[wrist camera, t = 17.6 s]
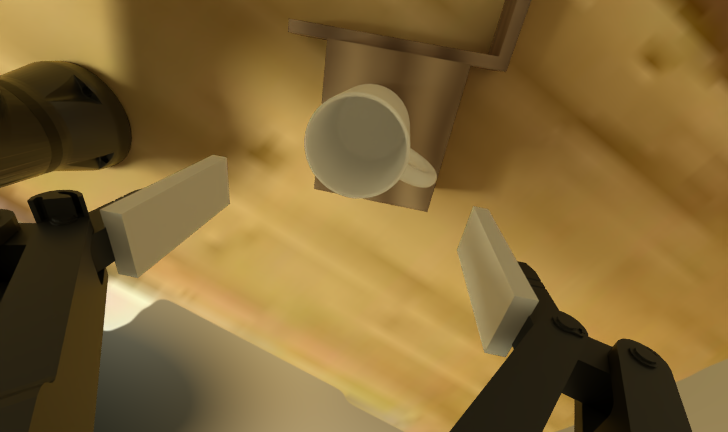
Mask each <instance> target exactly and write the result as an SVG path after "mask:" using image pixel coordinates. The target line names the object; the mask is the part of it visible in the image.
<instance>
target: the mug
mask: <svg viewBox="0 0 728 432" xmlns="http://www.w3.org/2000/svg"><path fill="white" fill-rule="evenodd" d="M304 147H305V154H306V158H307V161H308V163H309V166H310V168H311V170H312V172H313V173H314V175H315V176H316V177H317V179H318V180H319V181H320V182H321V183H322V184H323V185H324V186H326V187H327V188H328V189H330V190H331V191H333V192H335V193H337V194H339V195H342V196H345V197H349V198H361V199H362V198H370V197H374V196H377V195H380V194H382V193H384V192H386V191H387V190H389V189H390V188H391V187H393V186H394V185H395V184H396V183H397V182H398V181H399V180H401V181H403V182H405V183H407V184H410V185H412V186H416V187H422V188H427V187H430V186H432V185H433V184H434V183H435V182H436V179H437V174H436V172H435V169H434V168H433V166H432V165H431V164H430V163H429V162H428V161H427V160H426V159H425V158H423V157H422V156H421V155H420V154H418V153H417V152H415V151H414V150H413V149H411V148H410V121H409V115H408V112H407V109H406V107H405V105H404V103H403V102H402V100H401V99H400V98H399V97H398V96H397V95H396V94H395V93H394V92H393V91H391V90H390V89H388V88H386V87H384V86H381V85H377V84H363V85H359V86H356V87H353V88H351V89H349V90H347V91H344V92H342V93H340V94H338V95H336V96H334V97H332V98H330V99H328V100H327V101H325V102H324V103H322V104H321V105H320V106H319V107H318V108H317V110H316V111H315V112H314V113H313V115H312V117H311V118H310V120H309V123H308V125H307V128H306V132H305V139H304ZM408 163H409V164H408ZM411 165H412V166H411Z"/></svg>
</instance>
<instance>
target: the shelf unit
mask: <svg viewBox="0 0 728 432" xmlns="http://www.w3.org/2000/svg"><path fill="white" fill-rule="evenodd" d="M530 2H531V0H505V3H504V6H503V10H502V13H501V16H500V19H499V22H498V25H497V28H496V32H495V35H494V38H493V41H492V44H491V47H490V51H489V54H482V53H476V52H471V51H465V50H460V49H454V48H449V47H443V46H438V45H432V44H427V43H421V42H416V41H410V40H405V39H399V38H394V37H388V36H382V35H377V34H371V33H366V32H360V31H355V30H349V29H344V28H338V27H333V26H327V25H322V24H316V23H311V22H305V21H299V20H294V19H289V26H288V32H291V33H295V34H299V35H303V36H308V37H314V38H319V39H325V40H327V48H326V59H325V71H324V82H323V93H322V103H324V102H325V101H327V100H328V99H330V98H332V97H334V96H336V95H338V94H340V93H342V92H344V91H347V90H349V89H351V88H353V87H356V86H359V85H363V84H377V85H381V86H384V87H386V88H388V89H390V90H391V91H393V92H394V93H395V94H396V95H397V96H398V97H399V98H400V99H401V100H402V102H403V103H404V105H405V107H406V109H407V112H408V115H409V121H410V148H411V149H413V150H414V151H415V152H417V153H418V154H420V155H421V156H422V157H423V158H425V159H426V160H427V161H428V162H429V163H430V164H431V165H432V166H433V168H434V169H435V172H436V174H437V178H438V174H439V171H440V168H441V164H442V161H443V157H444V154H445V151H446V147H447V144H448V141H449V137H450V134H451V131H452V127H453V124H454V120H455V117H456V114H457V110H458V107H459V104H460V100H461V97H462V94H463V90H464V87H465V83H466V80H467V77H468V73H469V70H470V67H471V66H472V67H478V68H483V69H489V70H494V71H504V72H506V71H507V68H508V65H509V62H510V59H511V56H512V54H513V51H514V48H515V45H516V42H517V39H518V37H519V34H520V31H521V28H522V25H523V22H524V19H525V17H526V14H527V11H528V8H529V5H530ZM408 164H409V163H408ZM411 166H412V165H411ZM436 181H437V179H436ZM435 184H436V182H435V183H434V184H433V185H432V186H430V187H427V188H422V187H416V186H412V185H410V184H407V183H405V182H403V181H401V180H399V181H398V182H397V183H396V184H395V185H394V186H393V187H391V188H390V189H389V190H387V191H386V192H384V193H382V194H380V195H377V196H374V197H370V198H362V199H366V200H371V201H376V202H381V203H386V204H391V205H396V206H401V207H406V208H410V209H415V210H420V211H425V212H427V211H428V208H429V205H430V201H431V198H432V195H433V191H434V188H435ZM314 189H317V190H322V191H327V192H332V193H335V192H333V191H331V190H330V189H328V188H327V187H326V186H324V185H323V184H322V183H321V182H320V181H319V180H318V179H317V177H316V176H315V184H314Z"/></svg>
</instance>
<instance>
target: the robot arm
mask: <svg viewBox="0 0 728 432" xmlns="http://www.w3.org/2000/svg"><path fill="white" fill-rule="evenodd" d="M130 145H131V130H130V125H129V122H128V119H127V116H126V114H125V111H124V109H123V107H122V106H121V104H120V102H119V101H118V99H117V98H116V96H115V95H114V94H113V92H112V91H111V90H110V89H109V88H108V87H107V86H106V85H105V84H104V83H103V82H102V81H101V80H100V79H99V78H98V77H96V76H95V75H94V74H92V73H91V72H89V71H88V70H86V69H84V68H83V67H80V66H78V65H76V64H73V63H69V62H64V61H40V62H34V63H31V64H28V65H26V66H23V67H21V68H18V69H16V70H13V71H11V72H8V73H5V74H3V75H0V188H1V187H4V186H7V185H11V184H14V183H17V182H20V181H23V180H26V179H30V178H33V177H36V176H39V175H42V174H45V173H49V172H52V171H86V170H100V169H104V168H107V167H110V166H113V165H115V164H118V163H119V162H121V161H122V160H123V159H124V158H125V157H126V155H127V154H128V152H129V149H130ZM27 202H28V204H29V206H30V209H31V211H32V213H33V216H34V218H35V221H36V223H18V221H17V219H16V216H15V214H14V213H13V211H10V210H5V209H0V432H93V431H94V420H95V410H96V399H97V389H98V377H99V367H100V356H101V346H102V336H103V325H104V315H105V304H106V293H107V283H108V273H107V270H106V267H107V266H108V265H110V264H111V263H113V262H114V261H115V264H116V267H117V270H118V274H122V275H127V276H131V277H136V278H138V277H140V276H141V275H142V274H143V273H145V272H146V271H147V270H148V269H150V268H151V267H152V266H153V265H155V264H156V263H157V262H158V261H159V260H161V259H162V258H163V257H164V256H166V255H167V254H168V253H169V252H171V251H172V250H173V249H174V248H176V247H177V246H178V245H179V244H180V243H182V242H183V241H184V240H185V239H187V238H188V237H189V236H190V235H192V234H193V233H194V232H195V231H197V230H198V229H199V228H200V227H202V226H203V225H204V224H205V223H206V222H208V221H209V220H210V219H211V218H213V217H214V216H215V215H216V214H218V213H219V212H220V211H221V210H223V209H224V208H225V207H226V206H228V205H229V204H230V200H229V184H228V168H227V157H222V156H217V155H211V156H209V157H207V158H205V159H203V160H201V161H199V162H197V163H195V164H193V165H191V166H189V167H187V168H185V169H182V170H180V171H178V172H176V173H174V174H172V175H170V176H168V177H166V178H164V179H162V180H160V181H158V182H156V183H154V184H151V185H149V186H147V187H145V188H143V189H139V190H135V191H133V192H131V193H129V194H126V195H124V197H120V198H118V199H116V200H115V201H112V202H110V203H108V204H105V205H103V206H101V207H99V208H97V209H95V210H93V211H91V212H89V213H88V210H87V207H86V204H85V201H84V198H83V195H82V193H80V192H78V191H73V190H56V191H49V192H45V193H41V194H38V195H35V196H33V197H31V198H30V199H29V200H27ZM457 252H458V256H459V259H460V263H461V267H462V271H463V274H464V278H465V282H466V285H467V289H468V293H469V297H470V300H471V304H472V308H473V312H474V315H475V319H476V323H477V326H478V330H479V334H480V338H481V341H482V345H483V349H484V353H489V354H493V355H498V356H503V357H506V356H507V354H508V352H509V351H510V349H511V347H512V346H513V348H514V350H513V352H512V353H511V354H510V356H509V357H508V358H507V359H506V361H505V362H504V363H503V364H502V366H501V367H500V368H499V370H498V371H497V372H496V373H495V375H494V376H493V377H492V378H491V380H490V381H489V382H488V384H487V385H486V386H485V387H484V389H483V390H482V391H481V392H480V394H479V395H478V396H477V397H476V399H475V400H474V401H473V403H472V404H471V405H470V406H469V408H468V409H467V410H466V411H465V413H464V414H463V415H462V417H461V418H460V419H459V420H458V422H457V423H456V424H455V425H454V427H453V428H452V429H451V431H450V432H542V431H543V429H544V427H545V425H546V423H547V421H548V419H549V417H550V415H551V413H552V411H553V409H554V407H555V405H556V403H557V401H558V399H559V397H560V395H561V393H563V394H565V395H567V396H569V397H571V398H573V399H575V425H574V427H575V428H574V429H575V430H574V432H692V430H691V427H690V424H689V421H688V418H687V415H686V412H685V409H684V406H683V403H682V401H681V398H680V395H679V392H678V389H677V386H676V383H675V380H674V377H673V374H672V371H671V369H670V368H669V366H668V364H667V363H666V362H665V361H664V360H663V359H662V358H661V357H660V356H659V355H658V354H657V353H656V352H655V351H653V350H652V349H650V348H649V347H646V346H644V345H642V344H641V343H638V342H636V341H633V340H630V339H620V340H618V341H617V342H616V344H615V345H614V346H613V347H611V346H609V345H606V344H604V343H602V342H599V341H597V340H595V339H592V338H590V337H588V333H587V331H586V329H585V328H584V327H583V326H582V325H581V323H580V322H579V321H577V320H576V319H574V318H573V317H572V316H570V315H568V314H566V313H564V312H561V311H559V309H558V308H557V306H556V305H555V303H554V301H553V300H552V298H551V296H550V295H549V293H548V292H547V290H546V289H545V287H544V285H543V283H542V282H540V281H541V280H540V278H539V277H538V275H537V274H536V272H535V271H534V270H533V269H532V268H531V267H530V266H528V265H527V264H526V263H523V262H518V261H517V260H516V258H515V257H514V255H513V253H512V251H511V249H510V248H509V246H508V244H507V242H506V240H505V239H504V237H503V235H502V233H501V231H500V230H499V228H498V226H497V224H496V222H495V221H494V219H493V217H492V215H491V213H490V211H489V210H488V209H485V208H480V207H475V206H473V209H472V211H471V214H470V217H469V219H468V222H467V225H466V227H465V230H464V233H463V235H462V238H461V241H460V243H459V246H458V249H457Z"/></svg>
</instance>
